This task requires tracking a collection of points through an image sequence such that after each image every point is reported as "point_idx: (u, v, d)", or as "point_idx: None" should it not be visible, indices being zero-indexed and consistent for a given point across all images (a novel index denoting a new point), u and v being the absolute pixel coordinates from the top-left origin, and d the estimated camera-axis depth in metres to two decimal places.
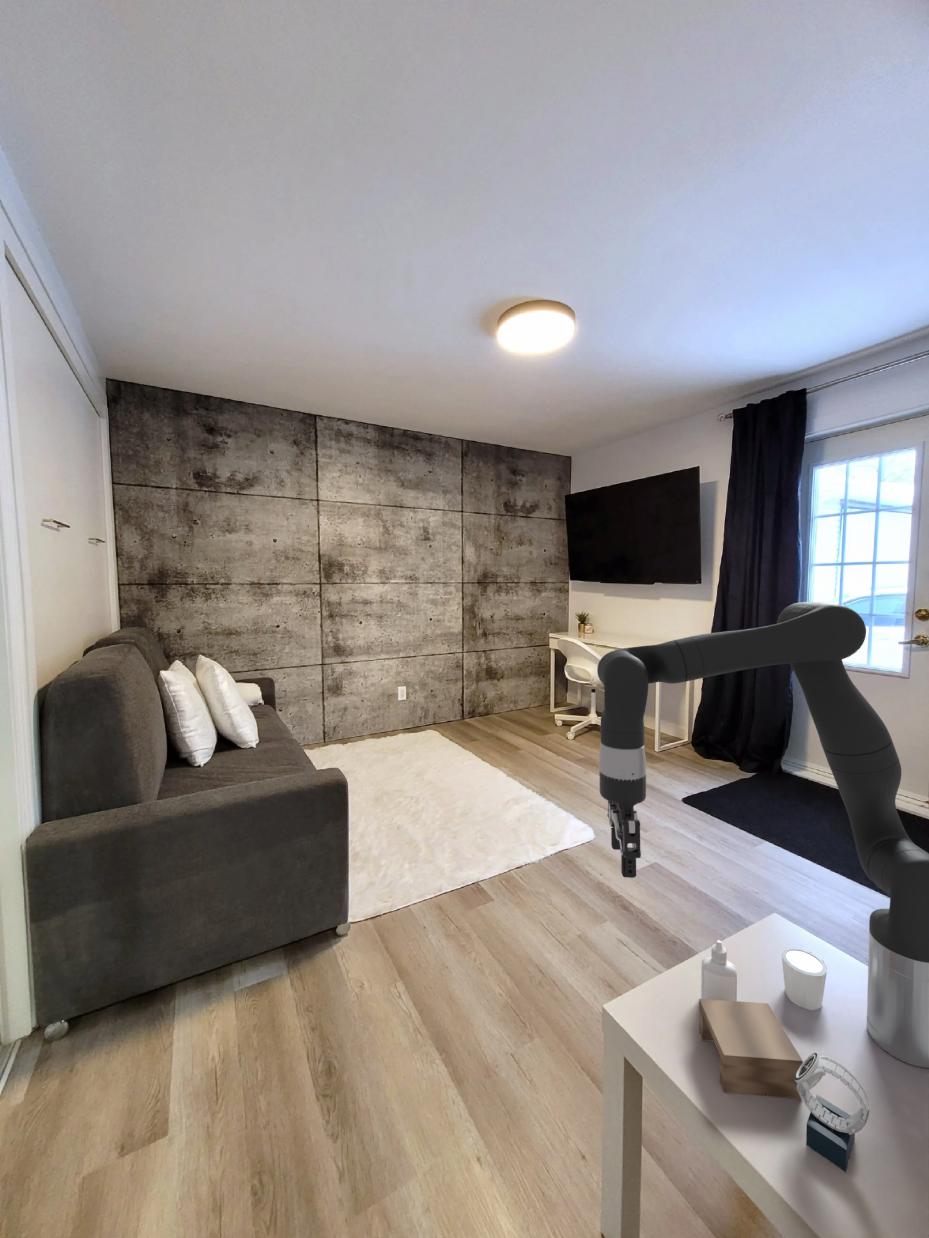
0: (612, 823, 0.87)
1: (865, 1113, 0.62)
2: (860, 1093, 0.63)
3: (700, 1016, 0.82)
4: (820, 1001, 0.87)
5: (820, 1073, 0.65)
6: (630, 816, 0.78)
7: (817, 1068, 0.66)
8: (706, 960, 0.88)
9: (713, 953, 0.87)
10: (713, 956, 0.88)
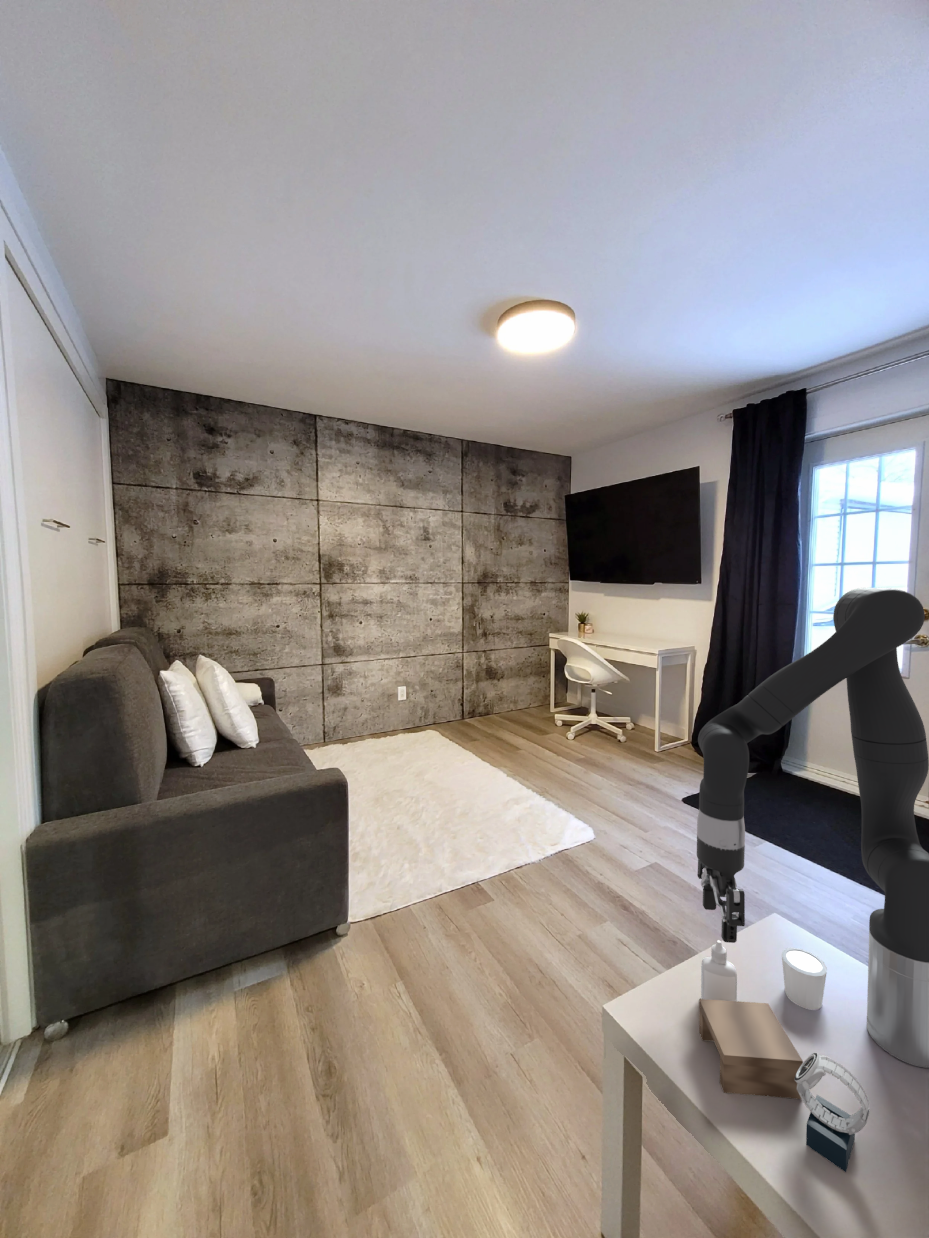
0: (705, 884, 0.91)
1: (865, 1113, 0.62)
2: (860, 1093, 0.63)
3: (700, 1016, 0.82)
4: (820, 1001, 0.87)
5: (820, 1073, 0.65)
6: (732, 884, 0.82)
7: (817, 1068, 0.66)
8: (706, 960, 0.88)
9: (713, 953, 0.87)
10: (713, 956, 0.88)
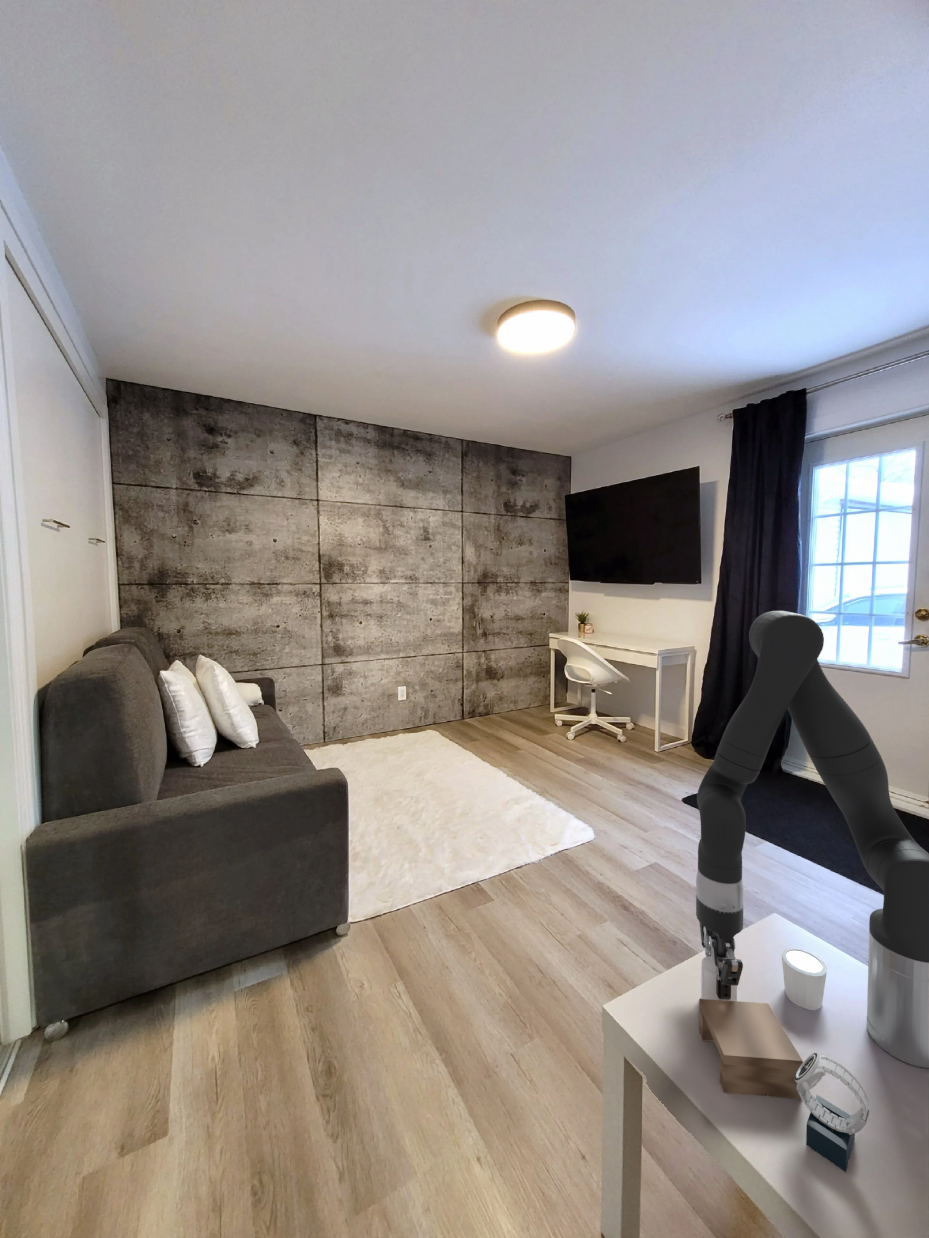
0: (709, 952, 0.90)
1: (865, 1113, 0.62)
2: (860, 1093, 0.63)
3: (700, 1016, 0.82)
4: (820, 1001, 0.87)
5: (820, 1073, 0.65)
6: (731, 951, 0.83)
7: (817, 1068, 0.66)
8: (706, 960, 0.88)
9: None
10: None
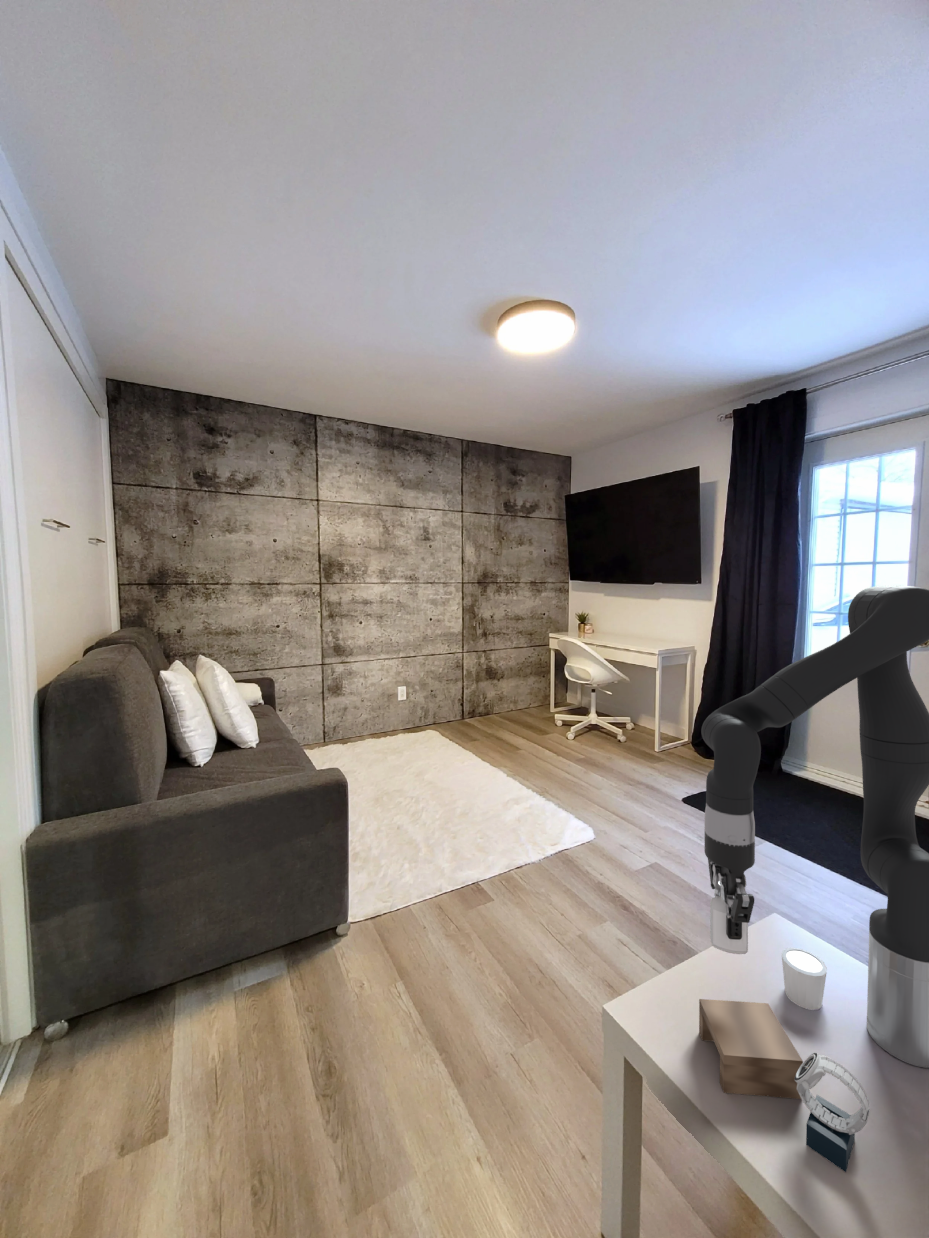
0: (718, 892, 0.85)
1: (865, 1113, 0.62)
2: (860, 1093, 0.63)
3: (700, 1016, 0.82)
4: (820, 1001, 0.87)
5: (820, 1073, 0.65)
6: (742, 886, 0.78)
7: (817, 1068, 0.66)
8: (715, 900, 0.84)
9: None
10: None
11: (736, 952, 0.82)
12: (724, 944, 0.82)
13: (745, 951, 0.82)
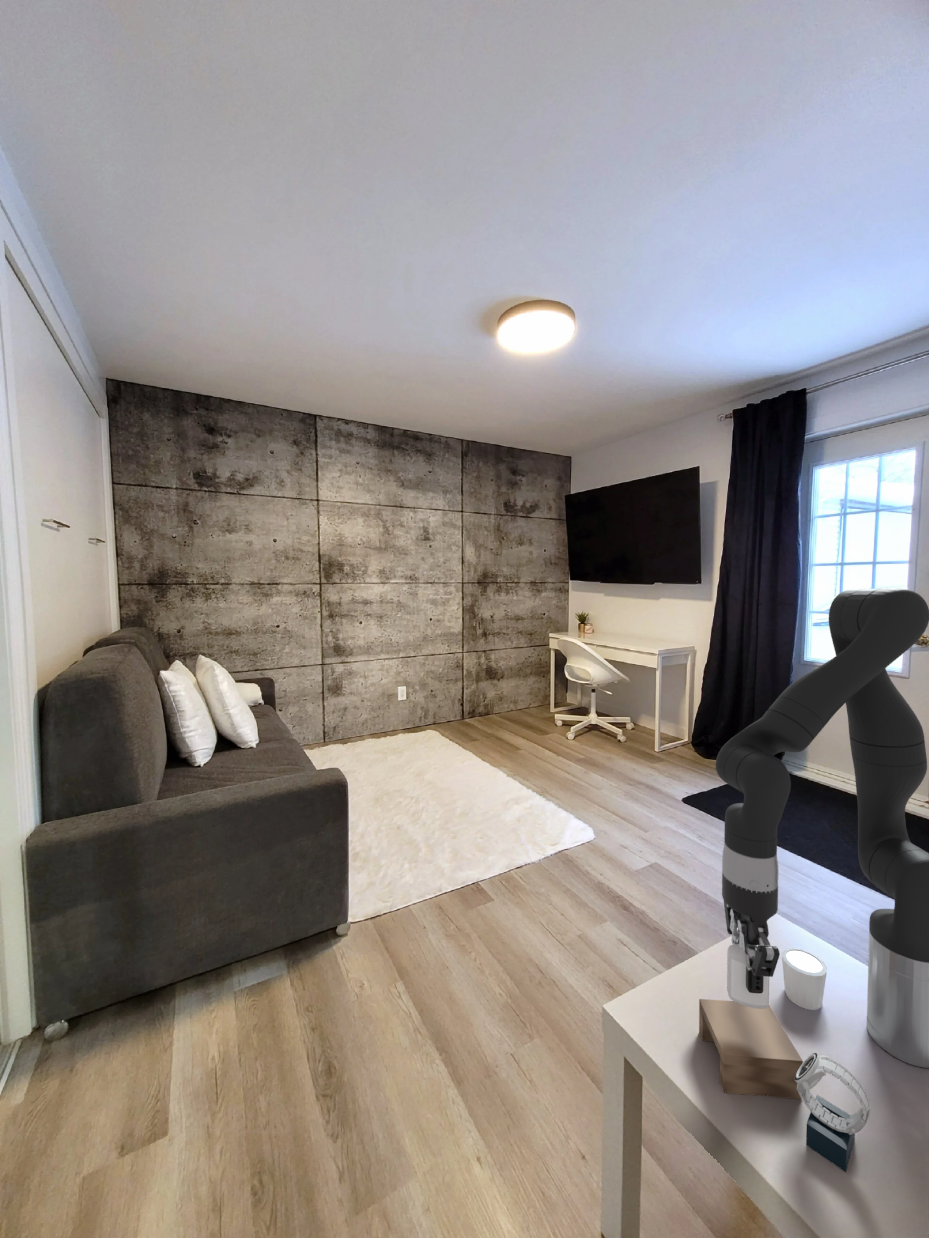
0: (736, 939, 0.78)
1: (865, 1113, 0.62)
2: (860, 1093, 0.63)
3: (700, 1016, 0.82)
4: (820, 1001, 0.87)
5: (820, 1073, 0.65)
6: (765, 937, 0.71)
7: (817, 1068, 0.66)
8: (733, 948, 0.77)
9: None
10: None
11: (756, 1006, 0.75)
12: (743, 997, 0.75)
13: (766, 1005, 0.75)
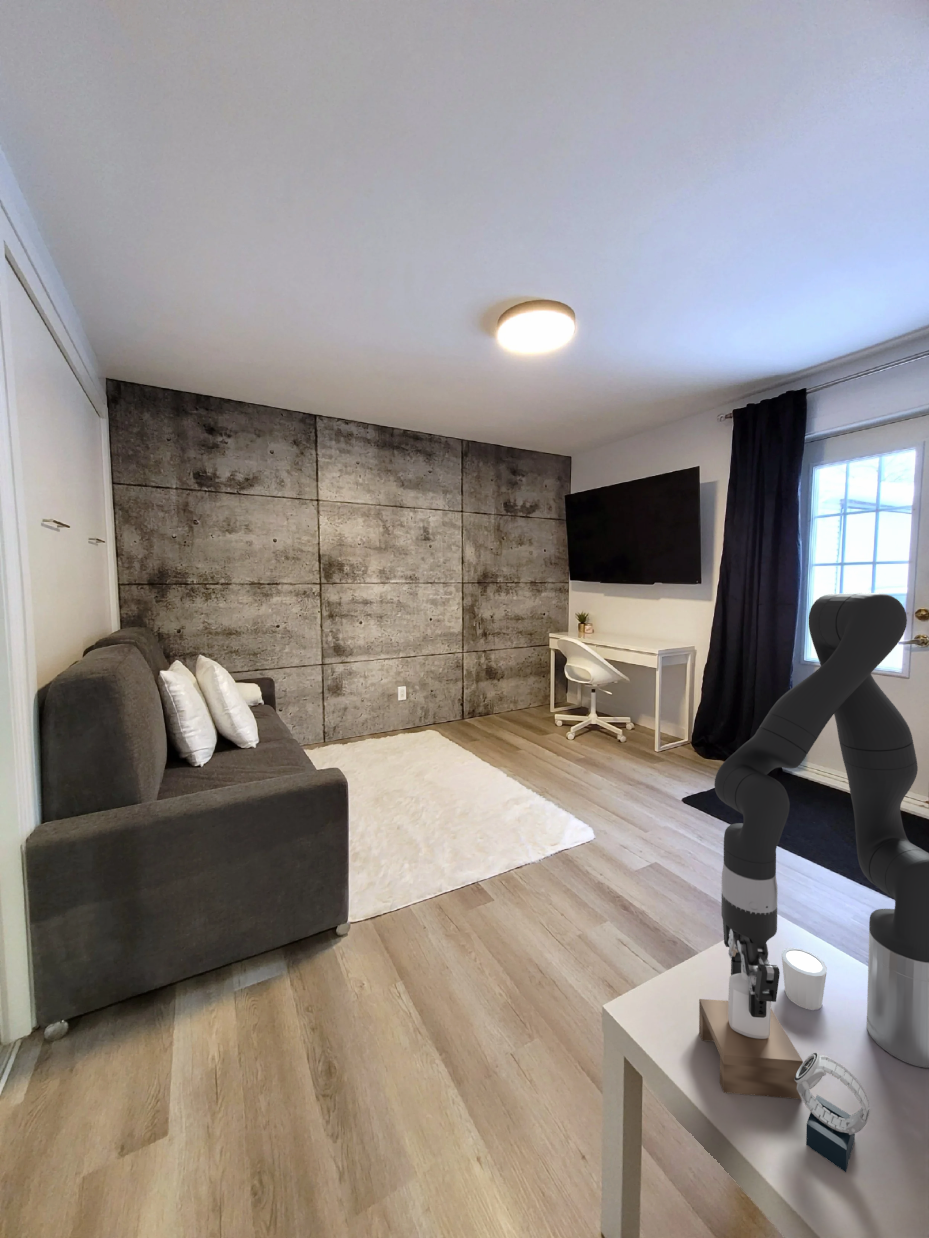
0: (733, 954, 0.79)
1: (865, 1113, 0.62)
2: (860, 1093, 0.63)
3: (700, 1016, 0.82)
4: (820, 1001, 0.87)
5: (820, 1073, 0.65)
6: (765, 957, 0.71)
7: (817, 1068, 0.66)
8: (735, 978, 0.77)
9: None
10: (744, 974, 0.76)
11: (757, 1037, 0.75)
12: (744, 1028, 0.75)
13: (767, 1036, 0.75)
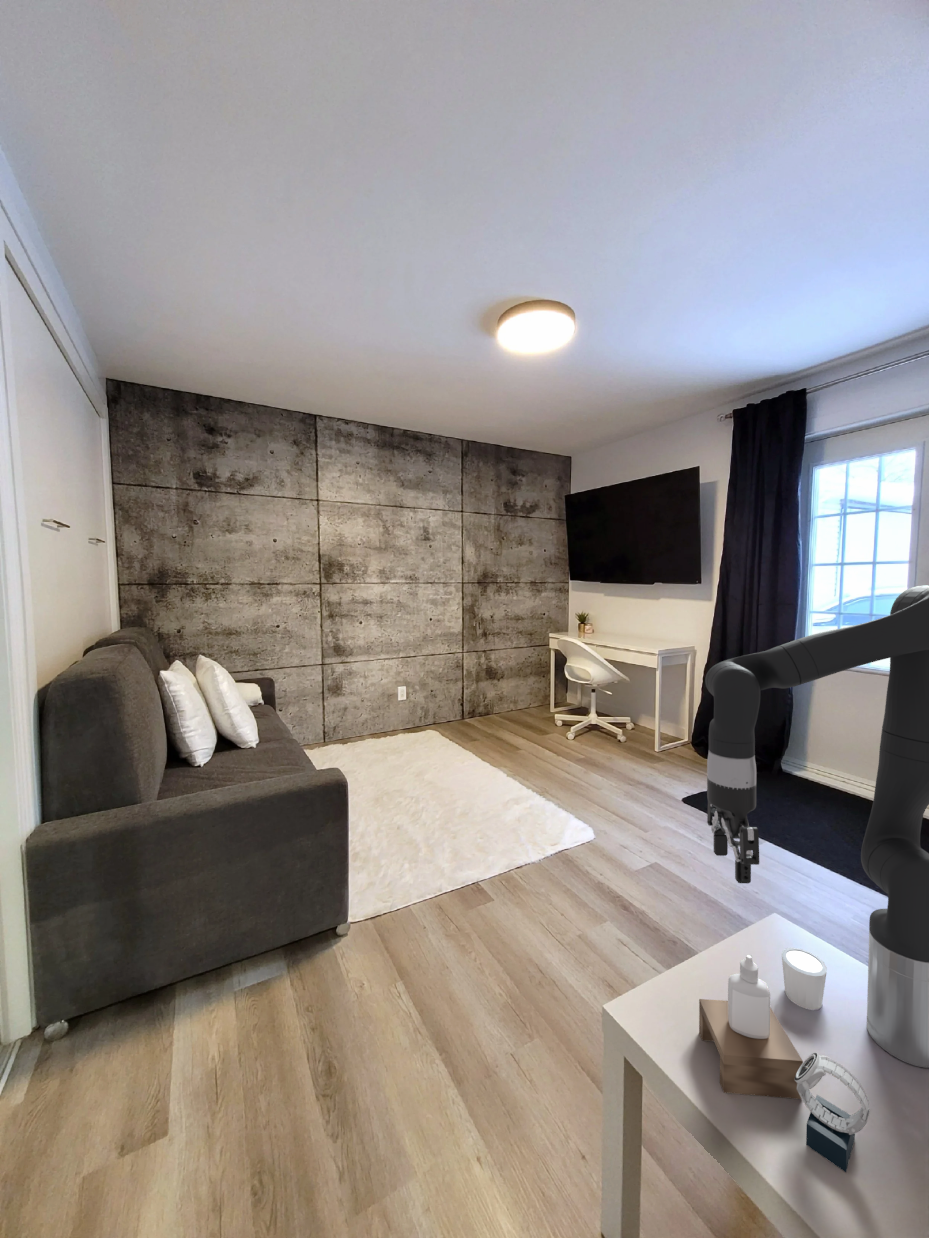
0: (716, 830, 0.89)
1: (865, 1113, 0.62)
2: (860, 1093, 0.63)
3: (700, 1016, 0.82)
4: (820, 1001, 0.87)
5: (820, 1073, 0.65)
6: (745, 824, 0.81)
7: (817, 1068, 0.66)
8: (734, 978, 0.77)
9: (742, 970, 0.76)
10: (742, 973, 0.76)
11: (757, 1037, 0.75)
12: (744, 1028, 0.75)
13: (767, 1036, 0.75)
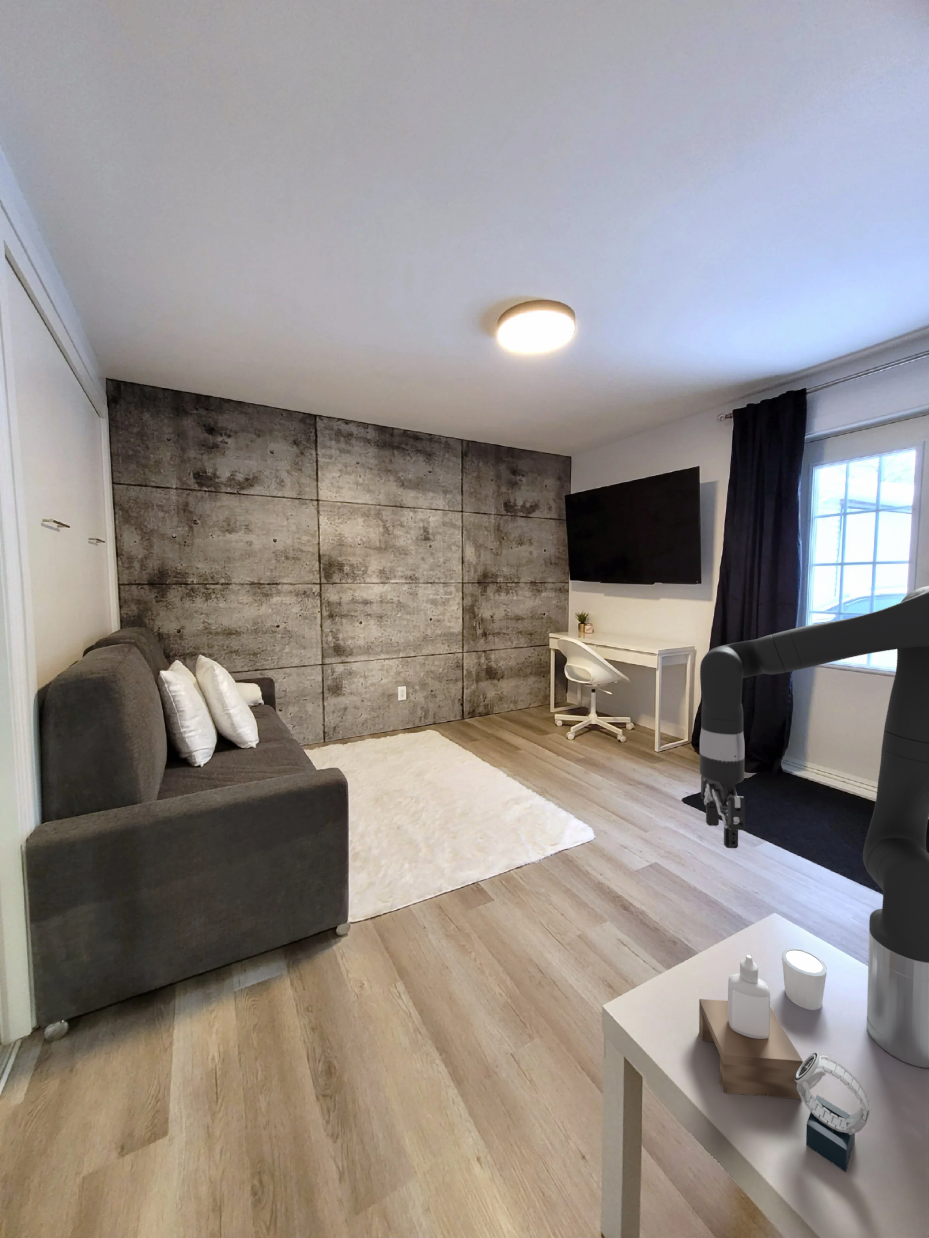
0: (708, 802, 0.97)
1: (865, 1113, 0.62)
2: (860, 1093, 0.63)
3: (700, 1016, 0.82)
4: (820, 1001, 0.87)
5: (820, 1073, 0.65)
6: (733, 793, 0.88)
7: (817, 1068, 0.66)
8: (734, 978, 0.77)
9: (742, 970, 0.76)
10: (742, 973, 0.76)
11: (757, 1037, 0.75)
12: (744, 1028, 0.75)
13: (767, 1036, 0.75)
